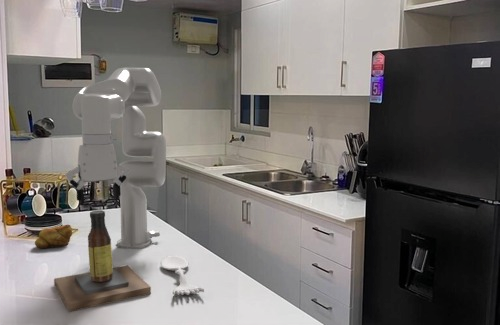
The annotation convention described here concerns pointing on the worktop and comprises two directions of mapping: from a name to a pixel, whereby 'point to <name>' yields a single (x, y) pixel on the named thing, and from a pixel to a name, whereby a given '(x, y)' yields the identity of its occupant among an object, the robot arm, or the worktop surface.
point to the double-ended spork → (177, 265)
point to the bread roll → (54, 237)
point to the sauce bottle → (99, 248)
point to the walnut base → (100, 288)
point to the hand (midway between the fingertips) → (99, 200)
